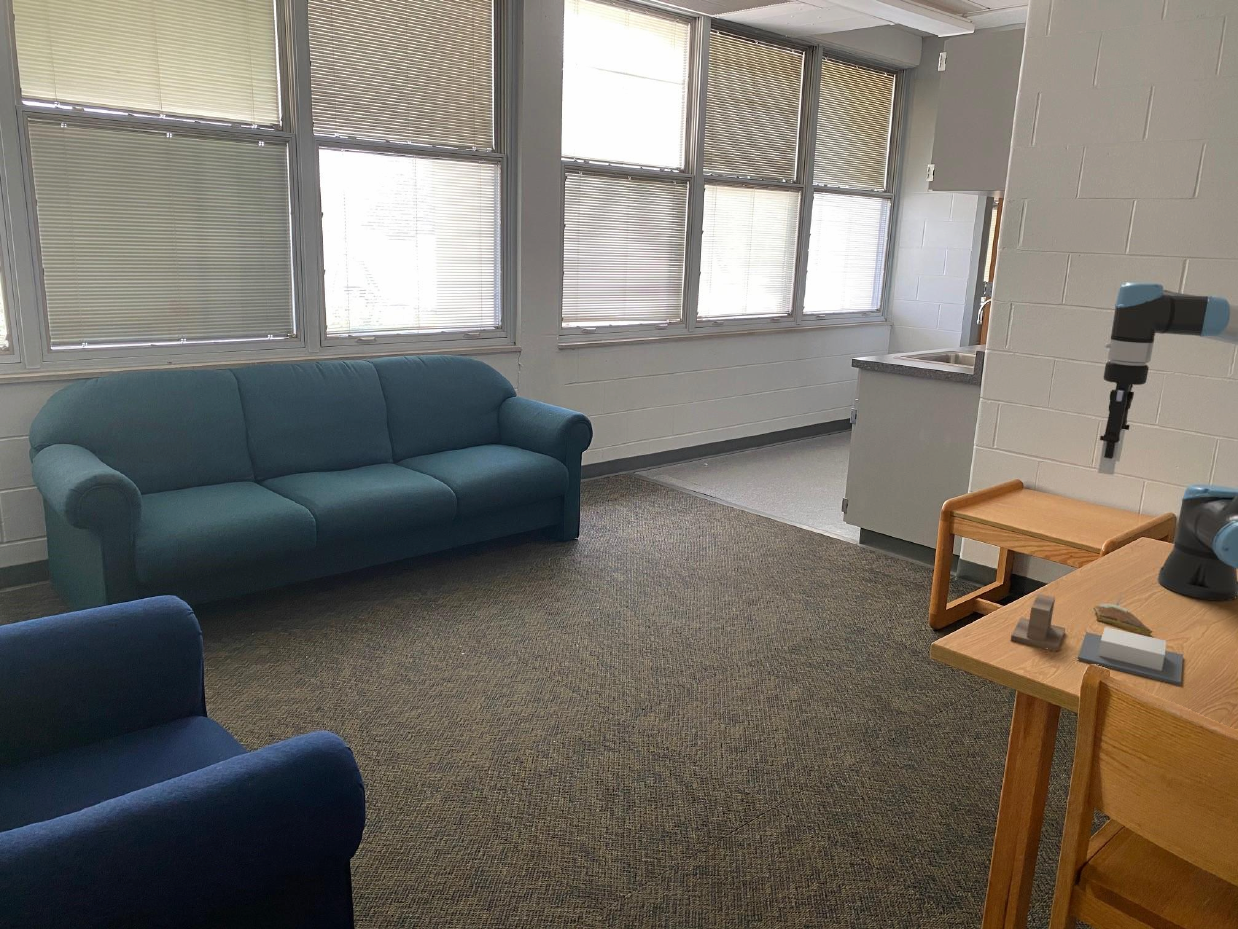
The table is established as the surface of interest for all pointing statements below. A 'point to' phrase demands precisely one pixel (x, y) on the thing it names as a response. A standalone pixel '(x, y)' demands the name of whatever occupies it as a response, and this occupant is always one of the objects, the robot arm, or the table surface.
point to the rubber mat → (1169, 669)
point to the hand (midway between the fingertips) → (1109, 466)
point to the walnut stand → (1039, 626)
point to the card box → (1132, 648)
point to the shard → (1121, 619)
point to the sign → (1113, 605)
